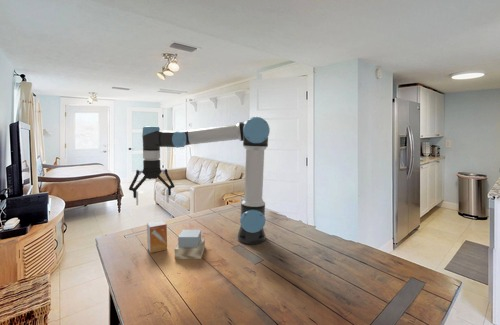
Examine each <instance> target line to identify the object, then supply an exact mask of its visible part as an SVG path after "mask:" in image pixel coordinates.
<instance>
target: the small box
mask: <svg viewBox="0 0 500 325" xmlns="http://www.w3.org/2000/svg"><path fill="white" fill-rule="evenodd" d="M167 225H168V224H167V223H166V222H165V221H164V220H159V221H154V222H153V221H152V222H148V223H146V234H147V236H146V237H147V238H146V239H147V249H148V251H149V253H150V254H152V253H157V252H162V251H166V250H168V230H167V229H168V226H167Z"/></svg>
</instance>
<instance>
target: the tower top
mask: <svg viewBox="0 0 500 325" xmlns="http://www.w3.org/2000/svg"><path fill="white" fill-rule="evenodd" d="M201 238H202V229H182V231H181V232H180V233H179V235H178V237H177V244H178V248H193V247H198V246H199V244H200V241H201Z"/></svg>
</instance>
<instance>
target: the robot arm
mask: <svg viewBox="0 0 500 325" xmlns="http://www.w3.org/2000/svg"><path fill="white" fill-rule="evenodd" d="M270 129H271V128H270V125H269V123H268V122H267V121H266V120H265V119H264V118H263V117H261V116H252V117H250V118H248V119H247V120H246V121H241V122H237V124H231V125H223V126H213V127H205V128H197V129H196V128H195V129H189V130H161V129H160V127H159V126H154V125H153V126H150V125H149V126H147V125H145V126H143V127H142V135H141V137H142V158H143V162H142V164H143V165H142V166H143V169H142V170H140V169H136V170H135V172H136V173H135V175H134V177H133V179H132V181H131V183H130V185H129V188H128V190H129V191H131V192H132V194H133V198H134V199H135V200H136V203H135V204H136V206H139V190H138V189H139V188H140V187H141V186H142V184H143V183H145V181H146V180H156V179H158V180H160V182H162V183H163V185H164V186H165V187H166V188H165V193H166V194H165V197H166V203H169V197H170V196H171V195H172V191H171V190H172V189H174V188H175V186H176V185H174V184H175V183H174V182H173V180H172V179H171V177H170V175H169V173H168V169H167V168H164V169H162V168H161V160H160V159H161V148H163V147H164V148H184V147H186V146H189V145H198V144H208V143H217V142H226V141H233V140H234V141H235V140H238V141H240V142H242V146H243V148H244V149H245V173H244V176H245V178H244V197H242V198H241V201H240V218H239V223H240V227H239V230H238V232H237V240H238V241H239V242H240V243H241V244H244V245H245V244H246V245H258V244H261V242H262V243H263V241H264V240H265V241H266V233H265V229H264V227H265V225H266V222H267V221H266V216H265V215H266V213H265V212H266V211H265V210H266V202H265V201H264V199H263V190H264V189H263V187H264V168H265V167H264V166H265V165H264V164H265V150H266V149H267V148H268V145H269V136H270ZM162 173H163V174H164V175H165V177H166V178H167V180H168V182H169V184H168V182H167V181H166V180H165V179H164V178H162V176H161V174H162ZM142 174H143V177H142V178H141V179H140V180H139V182H138V183H137V184H136V182H137V180H138V178H139V176H140V175H142ZM135 184H136V185H135ZM265 241H264V242H265Z"/></svg>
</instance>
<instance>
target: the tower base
mask: <svg viewBox="0 0 500 325" xmlns="http://www.w3.org/2000/svg"><path fill="white" fill-rule="evenodd" d="M205 248H206V239H205V237H203V238H202V237H201V241H200V244H199V246H198V247H193V248H178V243H177V244H176V246H175V247H174V260H180V259H181V260H182V259H183V260H193V259H194V260H195V259H196V260H197V259H199V260H200V259H202V257H203V254H204V251H205Z"/></svg>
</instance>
